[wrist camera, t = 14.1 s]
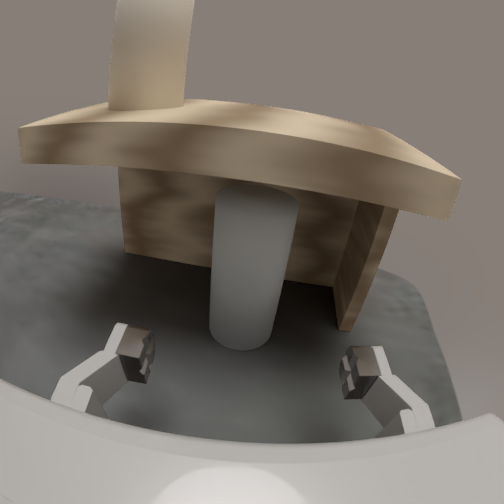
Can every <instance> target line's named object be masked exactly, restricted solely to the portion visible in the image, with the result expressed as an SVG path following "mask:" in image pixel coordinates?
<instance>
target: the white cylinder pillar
mask: <svg viewBox="0 0 504 504" xmlns="http://www.w3.org/2000/svg"><path fill="white" fill-rule="evenodd" d="M298 210H299V203H298V201H297V200H296V199H295V198H294V197H293V196H291V195H290V194H288V193H286V192H284V191H281V190H279V189H276V188H272V187H268V186H263V185H255V184H238V185H231V186H227V187H224V188H222V189H220V190H219V191H218V192H217V194H216V202H215V217H214V233H213V250H212V269H211V291H210V317H209V329H210V332H211V334H212V336H213V337H214V339H215V340H216V341H217V342H219V343H220V344H221V345H223V346H225V347H227V348H230V349H234V350H241V351H245V350H252V349H256V348H258V347H260V346H262V345H263V344H265V343H266V342H267V341H268V339H269V338H270V335H271V332H272V328H273V324H274V319H275V315H276V311H277V307H278V302H279V298H280V294H281V289H282V285H283V280H284V276H285V271H286V267H287V262H288V258H289V253H290V249H291V244H292V239H293V234H294V230H295V225H296V220H297V215H298Z"/></svg>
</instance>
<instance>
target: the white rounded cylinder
mask: <svg viewBox="0 0 504 504" xmlns="http://www.w3.org/2000/svg"><path fill="white" fill-rule="evenodd" d="M194 2H195V0H118V1H117V7H116V14H115V21H114V29H113V38H112V48H111V59H110V74H109V96H108V109H109V110H118V111H129V110H155V109H169V108H177V107H182V106H183V101H184V89H185V77H186V67H187V56H188V48H189V39H190V31H191V22H192V16H193V9H194Z"/></svg>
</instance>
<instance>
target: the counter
mask: <svg viewBox="0 0 504 504" xmlns="http://www.w3.org/2000/svg"><path fill="white" fill-rule="evenodd" d="M18 136H19V147H20V157H21V163H22V164H71V165H94V166H113V167H118V174H119V175H118V176H119V192H120V205H121V217H122V228H123V237H124V245H125V252H126V253H132V254H137V255H143V256H148V257H153V258H159V259H165V260H170V261H176V262H181V263H187V264H193V265H199V266H204V267H210V268H212V250H213V233H214V217H215V202H216V194H217V192H218V191H219V190H220V189H222V188H224V187H227V186H231V185H238V184H255V185H263V186H268V187H272V188H276V189H279V190H281V191H284V192H286V193H288V194H290V195H291V196H293V197H294V198H295V199H296V200H297V201H298V203H299V210H298V215H297V220H296V225H295V230H294V234H293V239H292V244H291V249H290V253H289V258H288V262H287V267H286V271H285V276H284V280H290V281H296V282H302V283H309V284H316V285H322V286H329V287H333V294H334V301H335V308H336V315H337V323H338V330H341V331H351V329H352V327H353V325H354V322H355V320H356V318H357V316H358V314H359V311H360V309H361V307H362V305H363V302H364V300H365V298H366V296H367V293H368V291H369V288H370V286H371V284H372V281H373V279H374V276H375V274H376V271H377V269H378V266H379V264H380V261H381V258H382V256H383V253H384V250H385V248H386V245H387V243H388V240H389V237H390V234H391V231H392V228H393V226H394V223H395V219H396V217H397V214H398V211H399V209H400V210H404V211H409V212H413V213H417V214H421V215H425V216H429V217H432V218H436V219H440V220H444V221H448V219H449V217H450V214H451V211H452V209H453V206H454V203H455V200H456V197H457V195H458V191H459V188H460V186H461V182H462V179H460V178H459V177H457V176H456V175H455V174H453V173H452V172H450V171H449V170H448V169H446V168H445V167H443V166H442V165H440V164H439V163H437V162H436V161H434V160H433V159H431V158H430V157H428V156H427V155H425V154H424V153H422V152H420V151H419V150H417V149H416V148H414V147H412V146H411V145H409V144H407V143H406V142H404V141H402V140H401V139H399V138H397V137H396V136H394V135H392V134H390V133H389V132H387V131H385V130H382V129H378V128H374V127H370V126H367V125H362V124H359V123H355V122H350V121H346V120H342V119H337V118H333V117H328V116H323V115H318V114H313V113H306V112H302V111H296V110H290V109H283V108H277V107H270V106H262V105H254V104H246V103H236V102H225V101H213V100H197V99H184V101H183V106H182V107H177V108H169V109H155V110H129V111H118V110H109V109H108V102H106V103H101V104H97V105H92V106H89V107H84V108H80V109H77V110H73V111H69V112H66V113H62V114H59V115H55V116H52V117H49V118H46V119H43V120H39V121H36V122H33V123H30V124H28V125H25V126H22V127H19V128H18Z"/></svg>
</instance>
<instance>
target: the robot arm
mask: <svg viewBox="0 0 504 504" xmlns="http://www.w3.org/2000/svg"><path fill="white" fill-rule="evenodd" d="M152 337H153V332H152V329H149V328H143V327H138V326H133V325H128V324H123V323H117V324H116V325H115V326H114V329H113V331H112V333H111V335H110V337H109V339H108V342H107V344H106V346H105V348H104V351H99V352H97V353H96V354H94V355H93V356H91V357H90V358H89V359H87V360H86V361H84V362H83V363H81V364H80V365H78V366H77V367H75V368H74V369H72V370H71V371H69V372H68V373H66V374H65V375H63V376H62V377H61V378H60V380H59V382H58V384H57V387H56V389H55V391H54V393H53V396H52V398H51V400H48V399H45V398H43V397H40V396H38V395H35V394H33V393H31V392H28V391H26V390H24V389H22V388H19V387H17V386H15V385H13V384H11V383H9V382H6V381H4V380H2V379H0V504H504V422H503V421H502V420H500V419H499V418H498V417H497V416H495V415H494V414H492V413H487V414H484V415H481V416H477V417H474V418H471V419H467V420H464V421H460V422H456V423H453V424H449V425H445V426H440V427H436V428H435V425H434V422H433V419H432V415H431V412H430V409H429V406H428V405H427V404H426V403H425V402H424V401H423V400H422V399H421V398H420V397H418V396H417V395H416V394H415V393H414V392H413V391H412V390H411V389H410V388H409V387H408V386H406V385H405V384H404V383H403V382H402V381H401V380H400V379H399V378H398V377H397V376H396V375H392V373H391V370H390V367H389V364H388V361H387V358H386V355H385V352H384V350H383V348H382V346H350V347H348V348H347V350H346V355H347V356H345V357H344V358H342V360H341V362H340V367H339V375H340V379H341V380H342V381H343V382H344V384H343V386H342V391H343V396H344V399H362V401H363V402H364V404H365V405H366V406H367V407H368V409H369V410H370V411H371V412H372V414H373V415H374V416H375V417H376V419H377V420H378V421H379V422H380V424H381V425H382V426H383V427H384V428H383V429H382V430H381V431H380V432H379V433H378V434H377V435H376V438H374V439H366V440H356V441H345V442H330V443H305V444H276V443H251V442H236V441H224V440H215V439H206V438H198V437H191V436H184V435H178V434H172V433H166V432H161V431H156V430H151V429H146V428H141V427H137V426H132V425H128V424H124V423H120V422H116V421H113V420H109V419H108V416H107V414H106V413H105V411H104V409H103V408H102V405H103V404H104V403H105V402H106V401H107V400H108V399H109V398H111V397H112V396H113V395H114V394H115V393H116V392H117V391H118V390H119V389H120V388H121V387H122V386H124V385H125V384H126V383H127V382H128V381H133V382H138V383H144V384H147V381H148V377H149V374H150V368H149V365H151V364H152V363H153V360H154V356H155V342H154V341H153V340H152ZM127 380H128V381H127Z"/></svg>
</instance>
